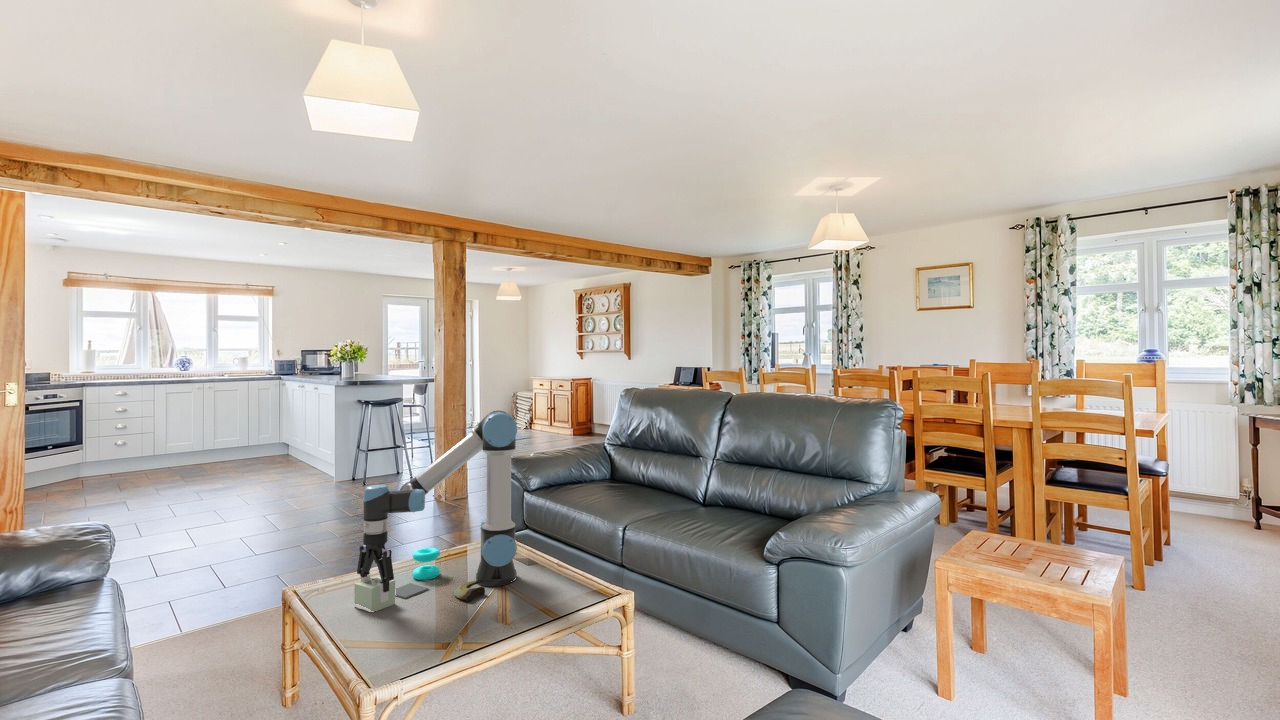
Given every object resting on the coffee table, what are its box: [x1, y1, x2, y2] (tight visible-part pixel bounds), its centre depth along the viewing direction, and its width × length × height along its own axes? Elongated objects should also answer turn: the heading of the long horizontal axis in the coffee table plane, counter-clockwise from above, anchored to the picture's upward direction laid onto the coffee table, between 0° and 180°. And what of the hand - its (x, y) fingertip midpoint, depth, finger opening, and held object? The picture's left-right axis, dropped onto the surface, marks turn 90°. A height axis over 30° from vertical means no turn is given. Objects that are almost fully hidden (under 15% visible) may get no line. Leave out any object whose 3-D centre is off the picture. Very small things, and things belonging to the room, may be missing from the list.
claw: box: [453, 580, 486, 602], centre depth 210 cm, size 20×10×3 cm, turn 22°
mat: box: [395, 582, 430, 600], centre depth 210 cm, size 10×10×1 cm
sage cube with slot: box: [353, 575, 396, 612], centre depth 198 cm, size 9×9×8 cm
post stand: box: [371, 577, 379, 586], centre depth 198 cm, size 4×4×9 cm
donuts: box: [412, 547, 441, 581], centre depth 226 cm, size 10×10×10 cm
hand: (374, 598), depth 198 cm, fingers closed on sage cube with slot, 9 cm apart
